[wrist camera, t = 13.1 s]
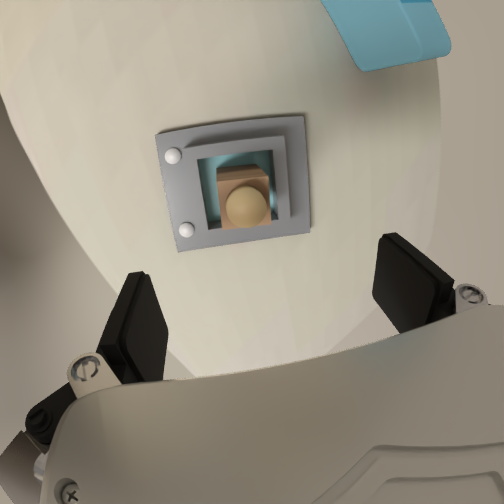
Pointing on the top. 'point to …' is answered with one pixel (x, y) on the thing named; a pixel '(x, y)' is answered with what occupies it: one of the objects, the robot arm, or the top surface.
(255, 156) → the frame
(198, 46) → the top surface
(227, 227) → the wooden block with knob
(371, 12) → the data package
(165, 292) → the top surface
